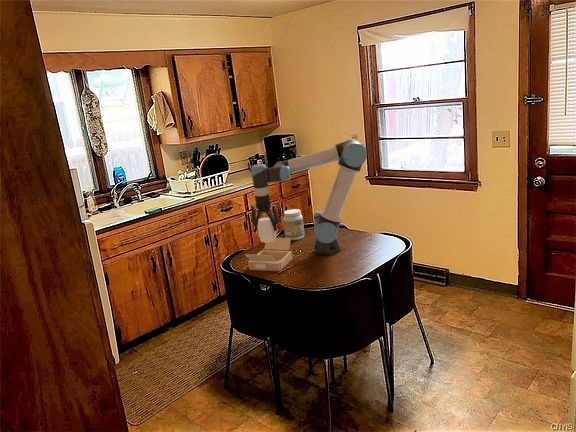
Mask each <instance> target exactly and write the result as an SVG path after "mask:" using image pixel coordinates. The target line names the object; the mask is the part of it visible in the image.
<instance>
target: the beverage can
mask: <svg viewBox="0 0 576 432" xmlns="http://www.w3.org/2000/svg"><path fill="white" fill-rule="evenodd" d="M272 225H273V224H272V222H271V220H270V218H269V217H268V216H265V217H260V219H259V220H258V228H259V235H260V237H259V240H260V242H261V243H268V242H272V241H274V240H275V238H276V237H273V233H272Z"/></svg>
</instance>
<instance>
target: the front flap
mask: <svg viewBox="0 0 576 432" xmlns="http://www.w3.org/2000/svg"><path fill="white" fill-rule="evenodd" d="M244 255H245V257H246V258H247V259H248V261H249V260H250V261H266V262H276V260H275V259H274V258H273V257H272V255H257V254H252V253H251V254H250V253H245V254H244Z"/></svg>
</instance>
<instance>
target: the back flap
mask: <svg viewBox="0 0 576 432" xmlns="http://www.w3.org/2000/svg"><path fill="white" fill-rule="evenodd" d="M291 241H292V240H291V238H286V237H275V240H274V241H272V242H268V243H265V244H264V249H263V250H272V251H290V247H291Z"/></svg>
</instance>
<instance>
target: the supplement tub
mask: <svg viewBox="0 0 576 432" xmlns="http://www.w3.org/2000/svg"><path fill="white" fill-rule="evenodd" d="M282 222H283V229H284V236H285V237H284V238H291V241H298V240H301V239H303V238H304V237H305V228H304V227H305V226H304V218H303V215H302V212H301V209H295V208H293V209H292V208H291V209H287V210H285V211H283V218H282Z"/></svg>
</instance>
